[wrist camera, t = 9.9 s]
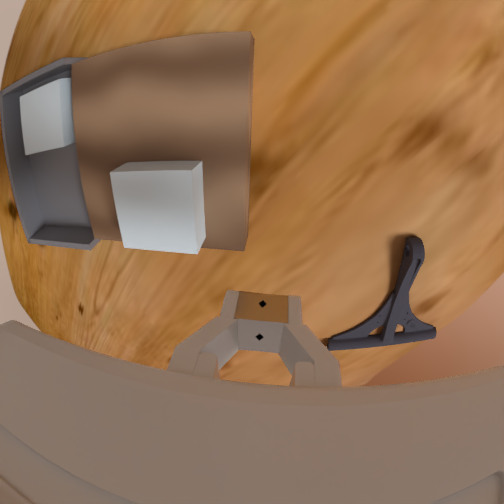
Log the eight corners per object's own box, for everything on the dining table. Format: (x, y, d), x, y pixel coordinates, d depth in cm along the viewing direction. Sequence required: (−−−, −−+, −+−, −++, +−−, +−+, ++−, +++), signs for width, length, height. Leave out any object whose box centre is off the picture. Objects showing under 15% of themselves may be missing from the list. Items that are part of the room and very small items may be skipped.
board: (89, 63, 16) (71, 64, 13) (254, 39, 15) (250, 31, 12) (107, 226, 24) (94, 238, 22) (247, 235, 23) (244, 251, 21)
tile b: (126, 162, 18) (109, 172, 16) (202, 160, 18) (191, 170, 16) (137, 232, 21) (124, 247, 19) (205, 237, 21) (197, 254, 19)
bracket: (466, 231, 21) (479, 246, 19) (429, 331, 29) (435, 347, 27) (337, 233, 23) (342, 250, 21) (326, 341, 31) (328, 360, 29)
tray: (23, 86, 16) (-1, 91, 13) (89, 57, 15) (63, 57, 12) (46, 227, 25) (28, 243, 22) (108, 231, 25) (90, 250, 22)
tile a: (36, 93, 16) (19, 96, 14) (77, 77, 16) (59, 78, 14) (41, 148, 19) (25, 155, 17) (81, 139, 19) (64, 146, 17)
